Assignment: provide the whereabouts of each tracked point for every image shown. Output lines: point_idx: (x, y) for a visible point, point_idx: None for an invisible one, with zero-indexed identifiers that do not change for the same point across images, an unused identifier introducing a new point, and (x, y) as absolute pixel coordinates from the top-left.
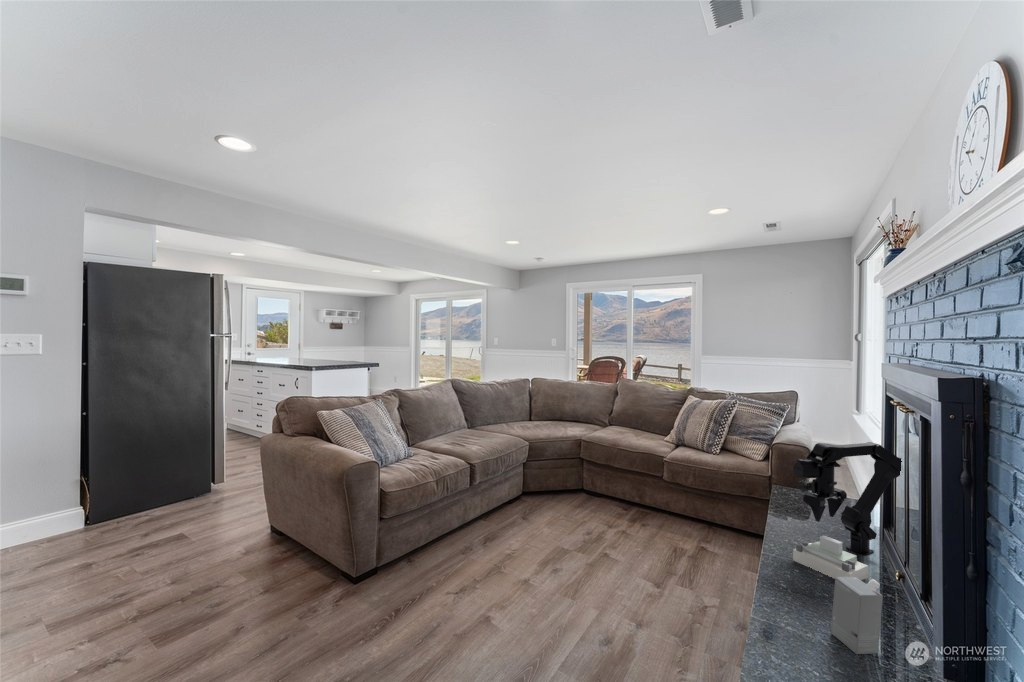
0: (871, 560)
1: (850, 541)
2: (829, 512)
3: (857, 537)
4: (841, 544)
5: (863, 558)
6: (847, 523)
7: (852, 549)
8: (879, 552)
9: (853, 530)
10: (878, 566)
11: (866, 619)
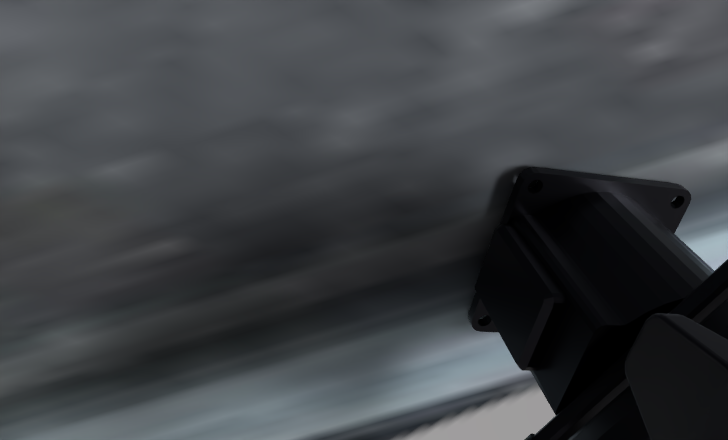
0: (408, 369)
1: (591, 237)
2: (715, 381)
3: (560, 380)
4: None
5: (398, 327)
6: (649, 438)
7: (490, 244)
8: None
9: (586, 424)
10: (325, 429)
11: None
